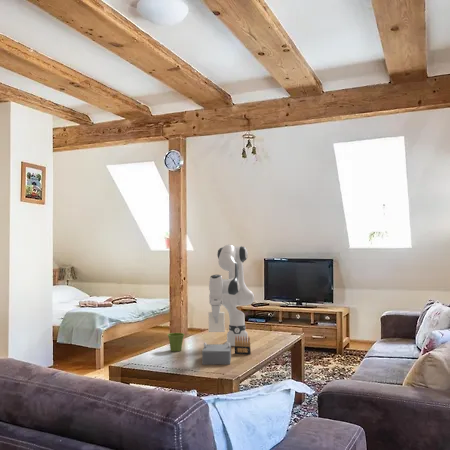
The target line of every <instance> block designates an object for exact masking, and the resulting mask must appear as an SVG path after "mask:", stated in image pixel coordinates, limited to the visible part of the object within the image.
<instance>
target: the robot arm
mask: <svg viewBox="0 0 450 450" xmlns="http://www.w3.org/2000/svg"><path fill="white" fill-rule="evenodd" d="M248 251H249V250H248V249H247V247H245V246H242V245H241V246H234V245H232V244H226V245H225V244H224V246H222V247H220V248H219V249H218V250H217V254H216V255H217V259H218V260H217V261H218V265H219V267H220V269H222V270H224V271H226V272H228V279H227V278H226V279H225V278H223V276H222V275H221V274H213V275H211V276H210V277H209V284H208V290H209V297H208V298H209V301H208V302H209V304H210V306H211V312H212V315H213V317H215V323H218V317H219V312H221V307H222V306H223V307H224V308H225V309H226V311H227V313H228V319H229V320H228V321H229V325H228V331H227V333H226V341H225V342H224V344H228V343H230V344H231V347H235V337H236V336H237V342H238V336H239V339H240V337H241V336H242V346H243V336H244V338H246V336H247V342H248V337H249V335H248V331H247V330H246V329H247V328H246V322H245V318H246V315H245V313H244V312H243V311H242V310H240V309H238V308H237V307H239V306H249V305H252V304H253V303H254V302H255V295H254V292H253V291H252V290H250V289H249V287H248V286H247V285H246V282H245V276H244V275H245V273H244V262H246V260H247V259H248V255H249V252H248ZM237 346H238V344H237Z"/></svg>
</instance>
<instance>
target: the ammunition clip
mask: <svg viewBox="0 0 450 450" xmlns="http://www.w3.org/2000/svg"><path fill="white" fill-rule="evenodd" d="M250 338H251V337H250V336H248V342H247V336H246V338H244V336H243V346H242V336H241V337H240V339H239V336H238V342H237V336H236V337H235V346H234V355H249V356H250V355H251V354H252V351H251V339H250ZM237 344H238V346H237Z"/></svg>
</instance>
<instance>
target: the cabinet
mask: <svg viewBox="0 0 450 450" xmlns="http://www.w3.org/2000/svg"><path fill="white" fill-rule="evenodd" d="M201 356H202V357H201V358H202V359H201V360H202V361H201V365H231V360H232V346H231V344H230V343H228V344H225V343H224V344H222V343H221V344H207V342H203V348H202V350H201Z"/></svg>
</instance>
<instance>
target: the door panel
mask: <svg viewBox="0 0 450 450" xmlns="http://www.w3.org/2000/svg"><path fill="white" fill-rule="evenodd" d="M225 315H226V312H225V311H220V312H219V317H218V323H215V317H213V315H212V311H209V312H208V333H225V331H226V326H225V324H226V323H225V321H226V320H225Z"/></svg>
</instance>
